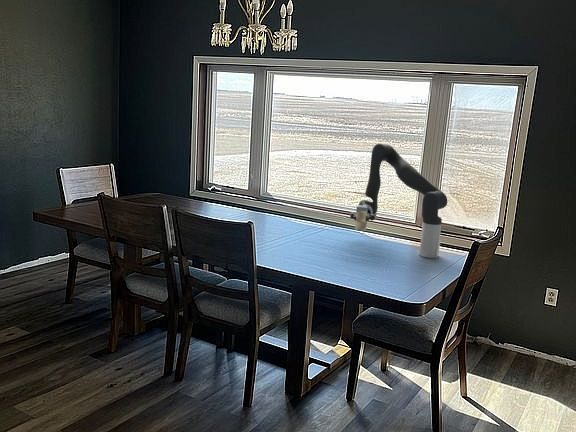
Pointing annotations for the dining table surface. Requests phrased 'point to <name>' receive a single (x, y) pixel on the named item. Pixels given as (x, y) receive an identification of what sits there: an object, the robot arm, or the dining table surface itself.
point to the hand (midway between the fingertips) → (360, 218)
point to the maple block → (361, 218)
